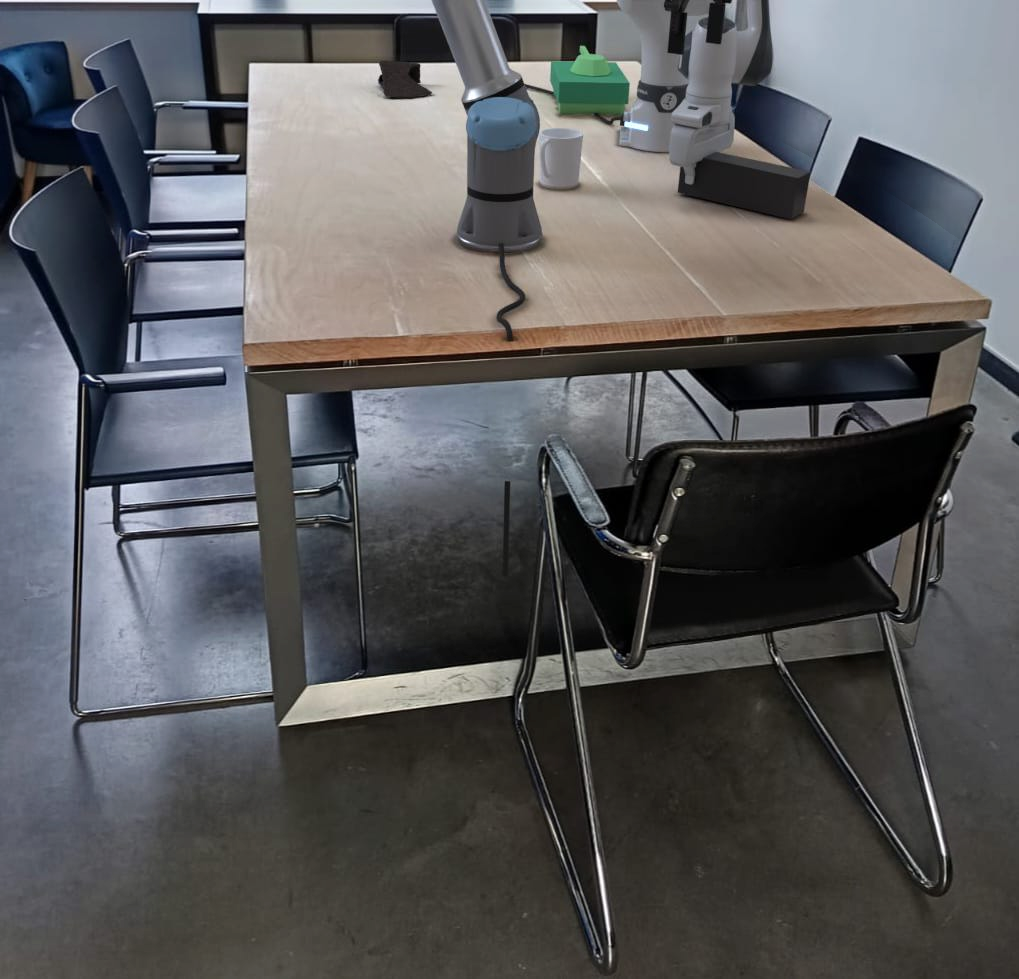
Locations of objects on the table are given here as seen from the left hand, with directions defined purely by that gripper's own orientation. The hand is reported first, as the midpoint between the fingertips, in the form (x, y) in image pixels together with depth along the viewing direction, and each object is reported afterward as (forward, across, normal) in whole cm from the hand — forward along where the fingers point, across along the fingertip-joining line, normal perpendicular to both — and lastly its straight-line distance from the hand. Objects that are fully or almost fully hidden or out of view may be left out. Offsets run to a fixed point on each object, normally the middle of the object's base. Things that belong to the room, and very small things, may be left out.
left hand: (694, 48), depth 190 cm
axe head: (+31, -53, -116) cm, 131 cm away
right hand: (+28, -19, -6) cm, 34 cm away
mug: (+31, -6, -32) cm, 45 cm away
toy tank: (+31, -75, -70) cm, 107 cm away
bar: (+31, -19, +3) cm, 36 cm away
